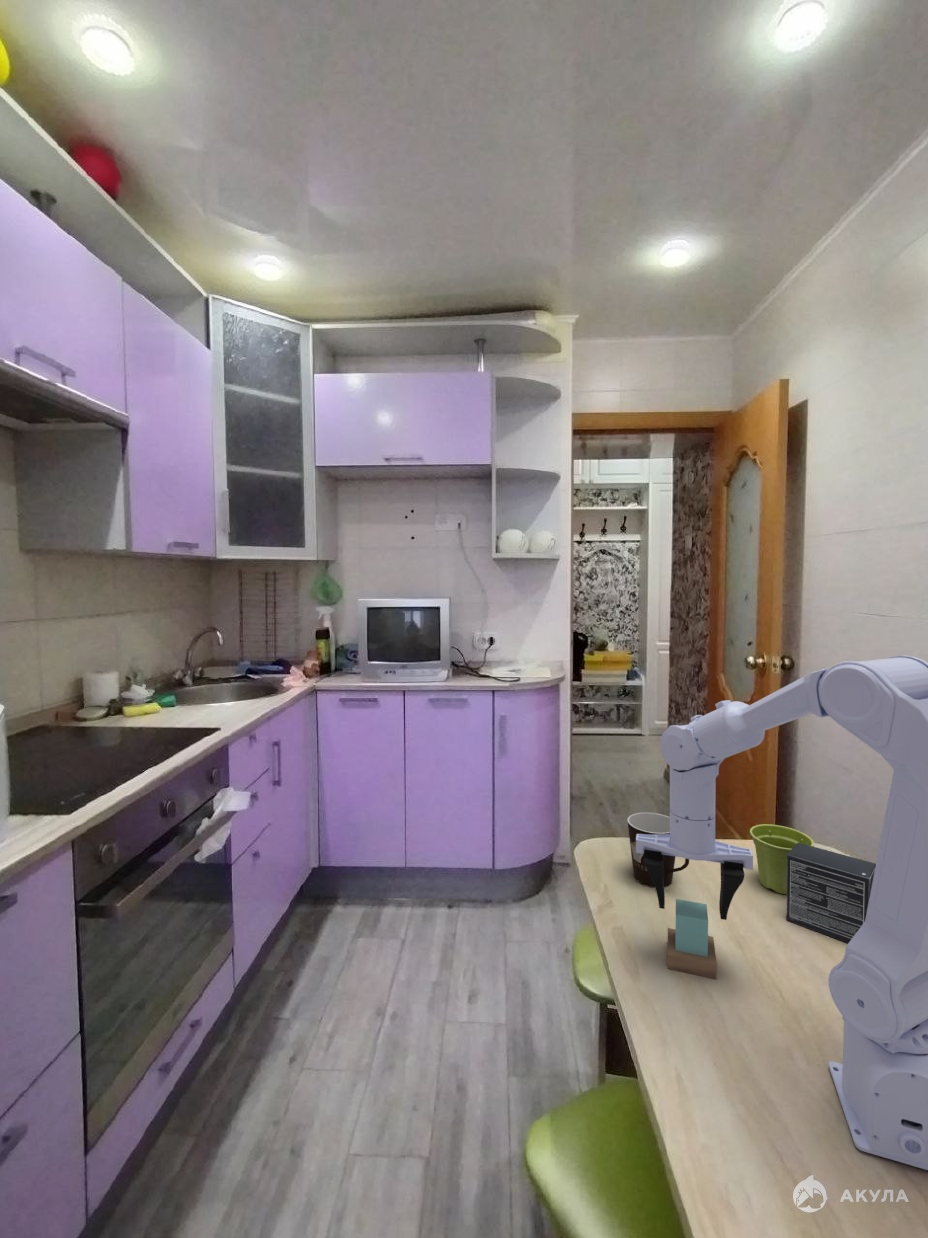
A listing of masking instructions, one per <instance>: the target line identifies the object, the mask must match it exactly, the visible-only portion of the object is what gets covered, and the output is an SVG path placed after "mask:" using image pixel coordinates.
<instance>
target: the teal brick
mask: <svg viewBox="0 0 928 1238" xmlns="http://www.w3.org/2000/svg"><path fill="white" fill-rule="evenodd" d="M675 929H676V932H675V950H677V951H681V952H686V953H691V954H695V955H700V956H705V957H708V936H709V917H708V905H707V904H706V903H701V902H695V901H691V900H685V899H681V898H675Z"/></svg>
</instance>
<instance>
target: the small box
mask: <svg viewBox="0 0 928 1238" xmlns="http://www.w3.org/2000/svg"><path fill="white" fill-rule="evenodd" d="M787 861H788V864H787V866H788V871H787V874H788V876H787V894H786V915H785V916H786V917H785V920H786V921H788V922H789V923H792V924H795V925H798V926H801V927H802V928H805V929H809V930H812V931H814V932H817V933H820V934H821V935H822V934H823V935H825V936H828V937H830V938H832V939H835V940H839V941H841V942H843V943H847V944H848V943H849V942H850V941H851V939H852V938H853V936H854V935H855V934H856V933H857V931H858V930H859V929H860V927H861V926H862V925H863V923H864V922H865V919H866V914H867V908H868V903H869V898H870V893H871V887H872V882H873V877H874V872H875V867H876V863H875V862H872V861H868V860H864V859H860V858H857V857H853V856H849V855H846V854H842V853H837V852H835V851H832V850H831V851H830V850H827V849H823V848H821V847H817V846H814V847H813V846H809V845H806V844H802V843H797V844H796V845H795V846H794V847H793V848H792V849H791V851H790V852H789V853H788V854H787Z"/></svg>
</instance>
